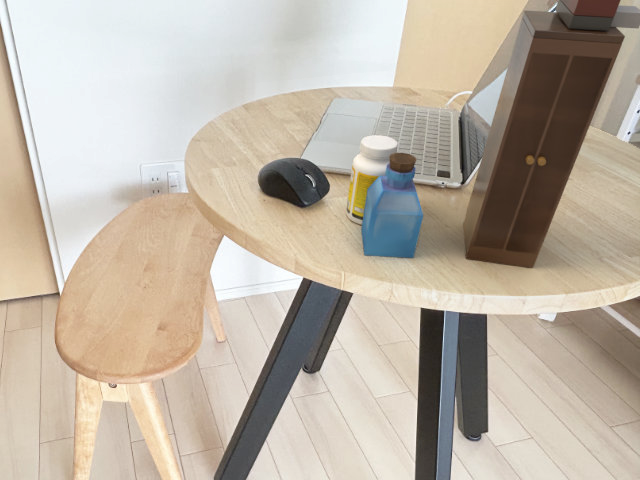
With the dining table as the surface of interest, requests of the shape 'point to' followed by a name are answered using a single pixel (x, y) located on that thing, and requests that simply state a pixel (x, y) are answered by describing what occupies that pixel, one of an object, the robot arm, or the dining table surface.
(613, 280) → the dining table surface
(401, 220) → the perfume bottle
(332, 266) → the dining table surface
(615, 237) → the dining table surface
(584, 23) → the stamp
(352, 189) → the pill bottle
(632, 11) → the small grey rectangular block
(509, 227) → the cupboard
